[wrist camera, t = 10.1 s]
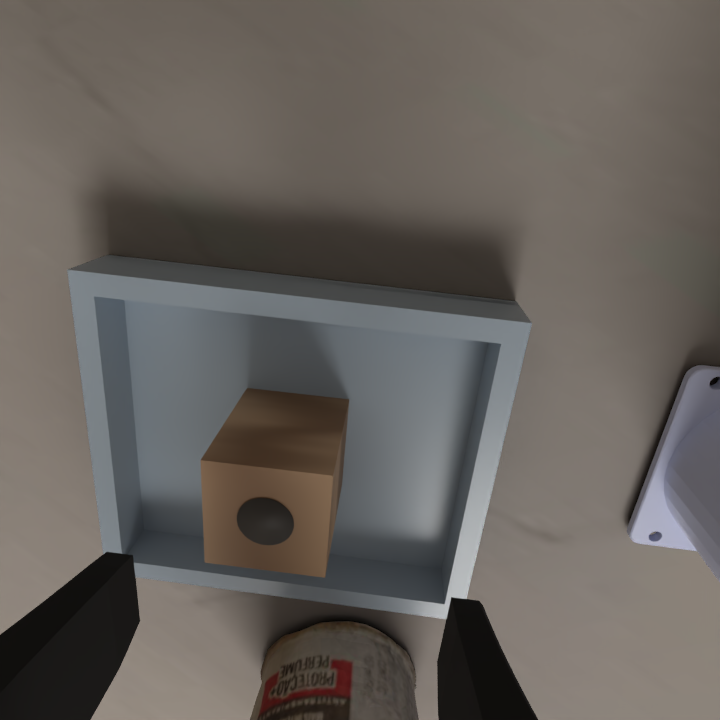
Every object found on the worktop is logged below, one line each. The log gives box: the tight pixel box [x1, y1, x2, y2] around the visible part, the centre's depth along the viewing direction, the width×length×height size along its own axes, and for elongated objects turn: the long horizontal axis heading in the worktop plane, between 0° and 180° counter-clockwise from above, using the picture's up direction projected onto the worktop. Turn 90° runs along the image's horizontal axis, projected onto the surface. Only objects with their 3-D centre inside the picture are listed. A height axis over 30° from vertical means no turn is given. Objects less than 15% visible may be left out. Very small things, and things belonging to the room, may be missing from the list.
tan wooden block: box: [200, 388, 349, 578], centre depth 18 cm, size 4×4×5 cm
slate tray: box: [67, 255, 532, 619], centre depth 20 cm, size 15×13×2 cm
